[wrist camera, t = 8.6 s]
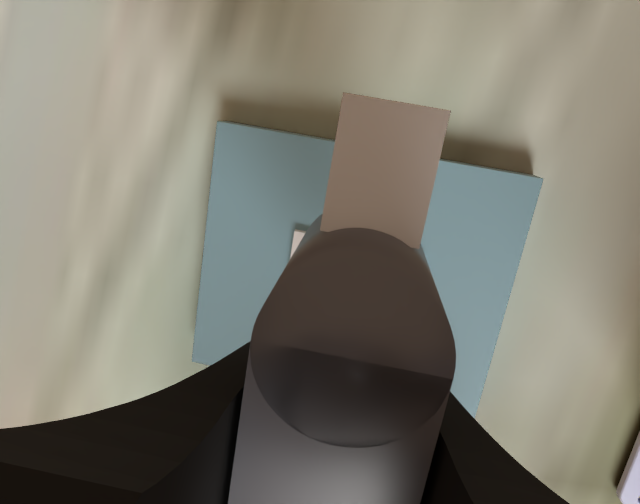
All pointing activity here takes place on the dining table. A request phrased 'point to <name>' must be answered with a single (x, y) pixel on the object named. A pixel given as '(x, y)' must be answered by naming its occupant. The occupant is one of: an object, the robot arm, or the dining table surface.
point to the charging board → (307, 205)
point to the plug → (353, 330)
